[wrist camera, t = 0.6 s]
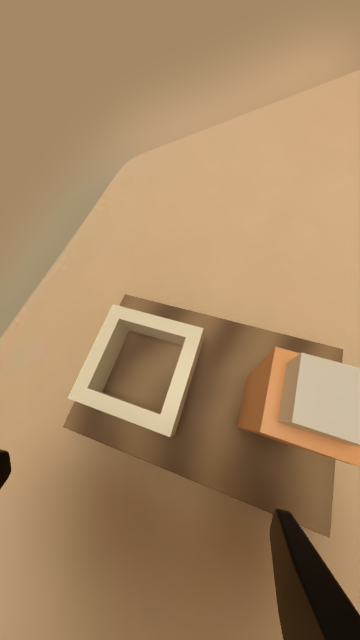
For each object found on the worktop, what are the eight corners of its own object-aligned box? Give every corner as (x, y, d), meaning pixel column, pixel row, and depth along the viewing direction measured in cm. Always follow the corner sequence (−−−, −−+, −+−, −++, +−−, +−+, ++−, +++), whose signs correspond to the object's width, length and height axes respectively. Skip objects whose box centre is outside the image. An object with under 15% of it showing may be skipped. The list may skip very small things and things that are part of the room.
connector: (299, 391, 20) (396, 361, 10) (291, 446, 18) (397, 478, 8) (247, 375, 21) (287, 334, 11) (236, 426, 19) (271, 434, 9)
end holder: (203, 339, 22) (203, 328, 20) (175, 434, 19) (170, 437, 17) (123, 317, 24) (112, 304, 22) (85, 400, 21) (67, 398, 19)
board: (335, 352, 22) (342, 349, 21) (321, 530, 17) (329, 537, 16) (128, 299, 27) (124, 294, 25) (70, 426, 22) (62, 426, 21)
